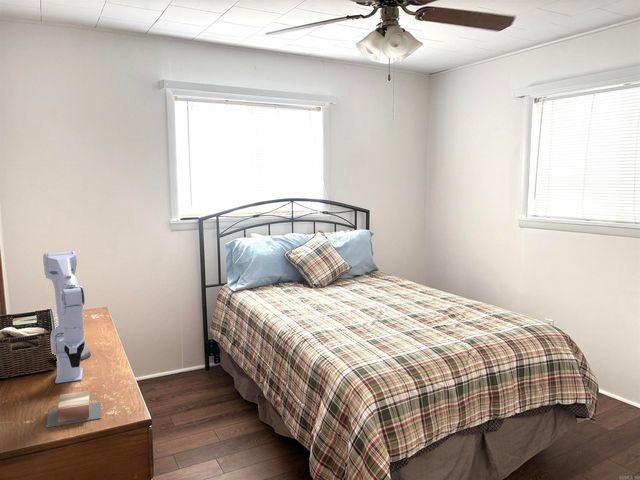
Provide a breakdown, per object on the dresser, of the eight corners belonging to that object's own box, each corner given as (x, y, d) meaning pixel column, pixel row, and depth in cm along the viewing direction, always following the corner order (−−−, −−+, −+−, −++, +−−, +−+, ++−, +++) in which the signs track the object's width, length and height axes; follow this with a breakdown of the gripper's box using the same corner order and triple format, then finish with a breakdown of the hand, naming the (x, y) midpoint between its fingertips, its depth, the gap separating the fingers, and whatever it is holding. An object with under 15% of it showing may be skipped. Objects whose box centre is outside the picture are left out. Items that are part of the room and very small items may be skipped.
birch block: (60, 394, 144) (57, 409, 136) (89, 390, 147) (88, 404, 139) (61, 407, 144) (58, 422, 136) (90, 402, 148) (89, 417, 139)
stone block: (94, 360, 183) (81, 348, 189) (94, 349, 182) (81, 338, 187) (62, 371, 174) (49, 359, 179) (62, 360, 172) (49, 348, 178)
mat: (49, 410, 143) (49, 409, 143) (100, 402, 148) (100, 401, 148) (45, 428, 134) (45, 427, 134) (100, 418, 139) (100, 417, 139)
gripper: (60, 319, 153) (63, 359, 156) (56, 335, 140) (59, 378, 143) (85, 317, 156) (86, 356, 158) (83, 332, 143) (85, 374, 145)
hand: (75, 366), depth 151 cm, fingers closed
